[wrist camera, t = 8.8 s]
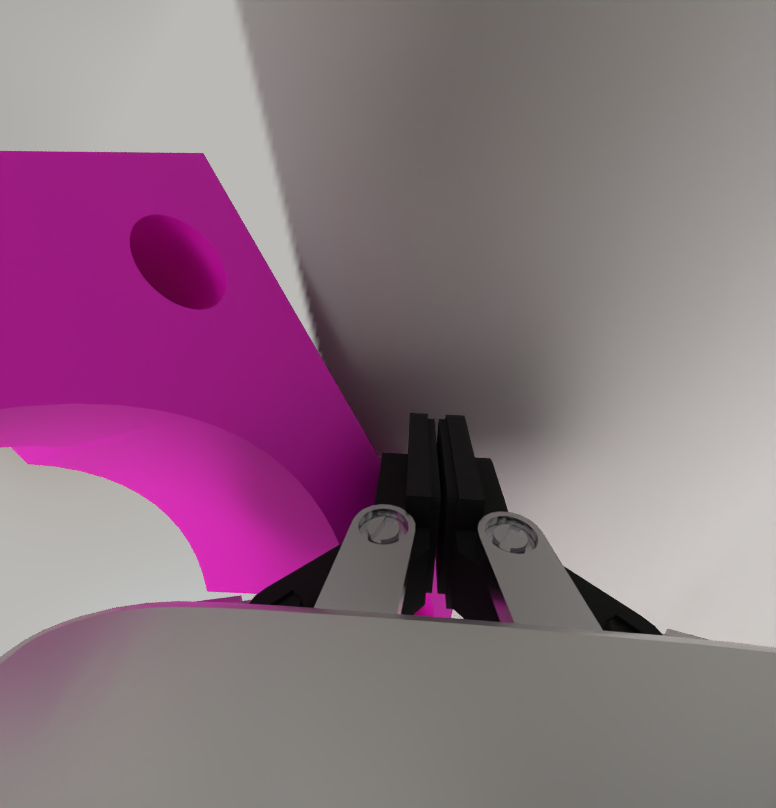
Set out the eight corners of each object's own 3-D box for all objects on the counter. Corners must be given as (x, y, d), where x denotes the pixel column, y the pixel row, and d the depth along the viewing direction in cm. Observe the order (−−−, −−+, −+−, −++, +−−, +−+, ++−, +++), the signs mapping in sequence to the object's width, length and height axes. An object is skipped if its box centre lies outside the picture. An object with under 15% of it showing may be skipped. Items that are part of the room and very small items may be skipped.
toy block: (85, 268, 12) (-399, 383, 6) (203, 153, 8) (-618, 143, 2) (327, 587, 17) (207, 819, 11) (456, 591, 14) (384, 921, 8)
